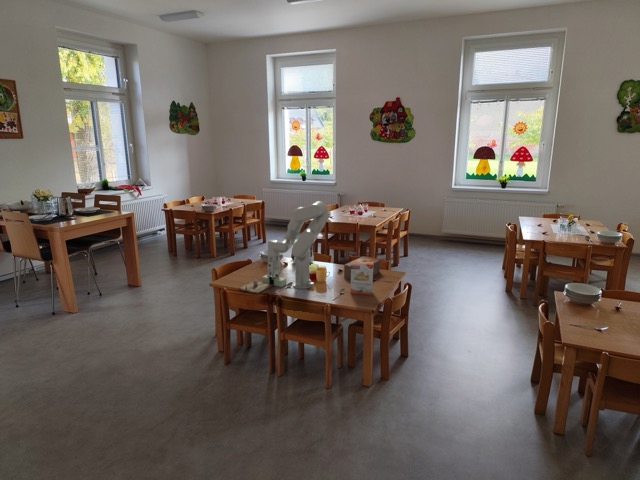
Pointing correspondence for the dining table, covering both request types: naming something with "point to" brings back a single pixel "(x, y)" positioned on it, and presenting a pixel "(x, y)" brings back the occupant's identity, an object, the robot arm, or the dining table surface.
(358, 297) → the dining table surface
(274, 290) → the dining table surface
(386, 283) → the dining table surface
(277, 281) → the flange bar
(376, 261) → the tissue box cover
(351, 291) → the cracker box
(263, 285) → the board
